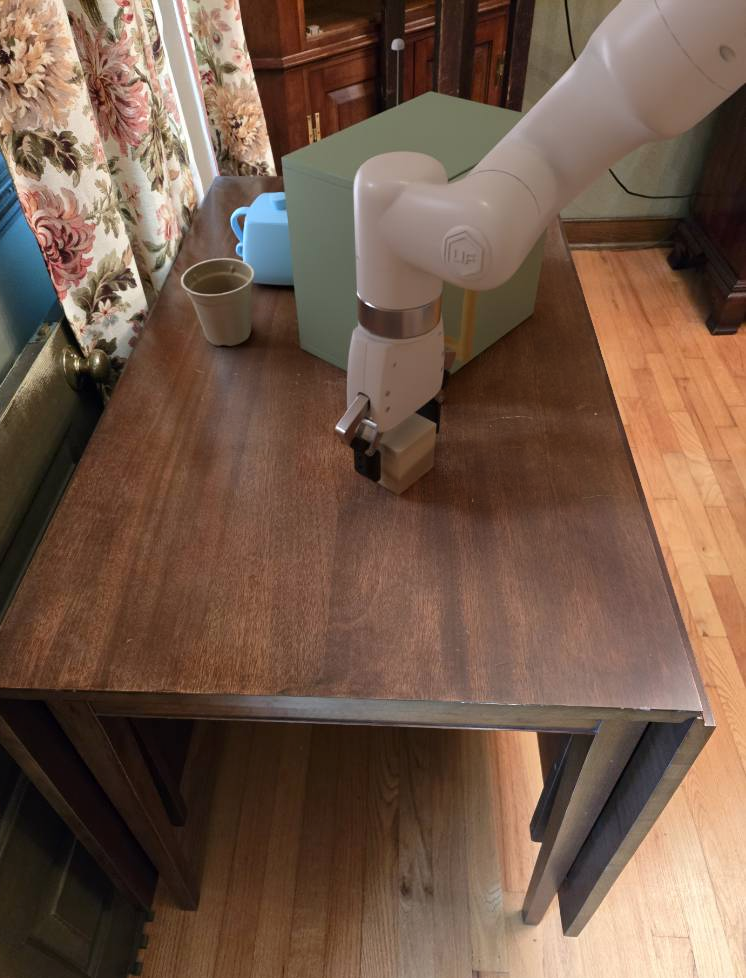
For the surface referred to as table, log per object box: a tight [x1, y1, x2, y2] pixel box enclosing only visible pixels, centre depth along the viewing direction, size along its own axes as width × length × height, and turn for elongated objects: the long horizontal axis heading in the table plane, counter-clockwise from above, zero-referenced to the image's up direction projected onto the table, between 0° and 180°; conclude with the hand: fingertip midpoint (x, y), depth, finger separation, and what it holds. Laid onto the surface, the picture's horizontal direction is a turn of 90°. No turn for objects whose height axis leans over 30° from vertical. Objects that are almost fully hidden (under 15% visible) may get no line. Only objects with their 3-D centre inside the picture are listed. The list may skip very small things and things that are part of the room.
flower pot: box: [180, 257, 254, 347], centre depth 96 cm, size 9×9×9 cm
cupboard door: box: [441, 169, 549, 375], centre depth 83 cm, size 6×26×24 cm, turn 137°
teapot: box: [230, 191, 294, 286], centre depth 106 cm, size 12×18×12 cm
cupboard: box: [281, 91, 527, 372], centre depth 89 cm, size 18×26×24 cm
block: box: [361, 413, 437, 496], centre depth 78 cm, size 6×6×6 cm
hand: (397, 451), depth 78 cm, fingers open, 9 cm apart
